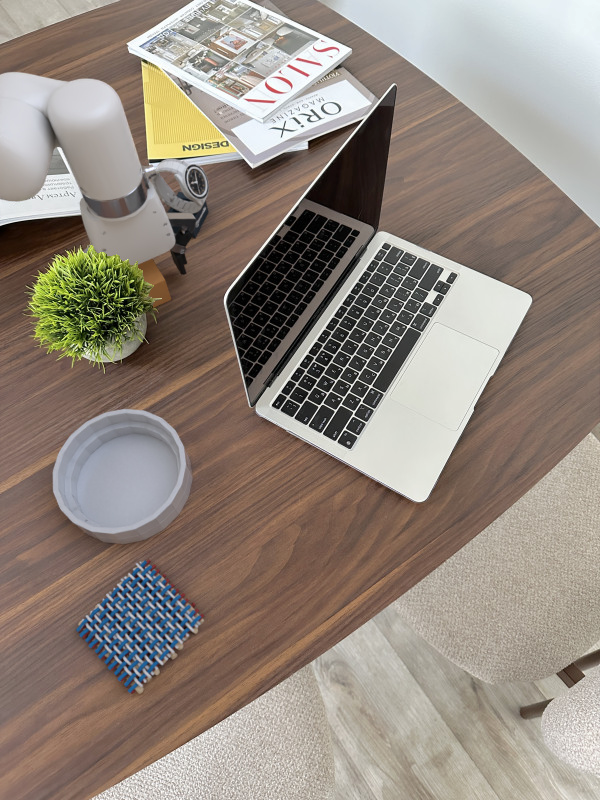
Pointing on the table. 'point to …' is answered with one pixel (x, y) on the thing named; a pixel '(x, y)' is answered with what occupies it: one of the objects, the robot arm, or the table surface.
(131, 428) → the gray bowl
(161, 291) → the brown rectangular block
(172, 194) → the watch
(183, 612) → the woven mat
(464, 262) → the table surface
